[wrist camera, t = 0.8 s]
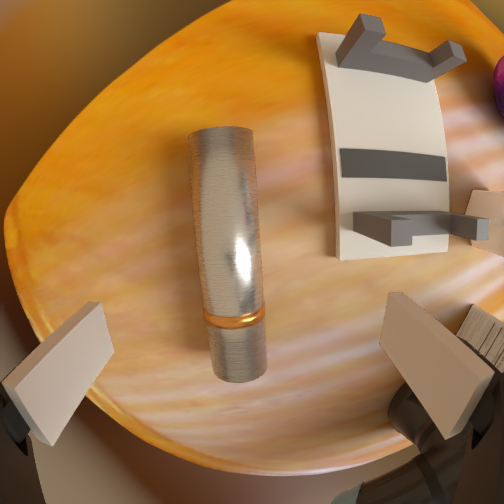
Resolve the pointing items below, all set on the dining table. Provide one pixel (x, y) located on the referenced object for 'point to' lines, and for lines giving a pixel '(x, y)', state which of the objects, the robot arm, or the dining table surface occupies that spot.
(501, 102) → the decorative orb
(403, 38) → the dining table surface
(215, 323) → the steel tube
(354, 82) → the cradle stand
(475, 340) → the supplement box
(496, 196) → the jar
